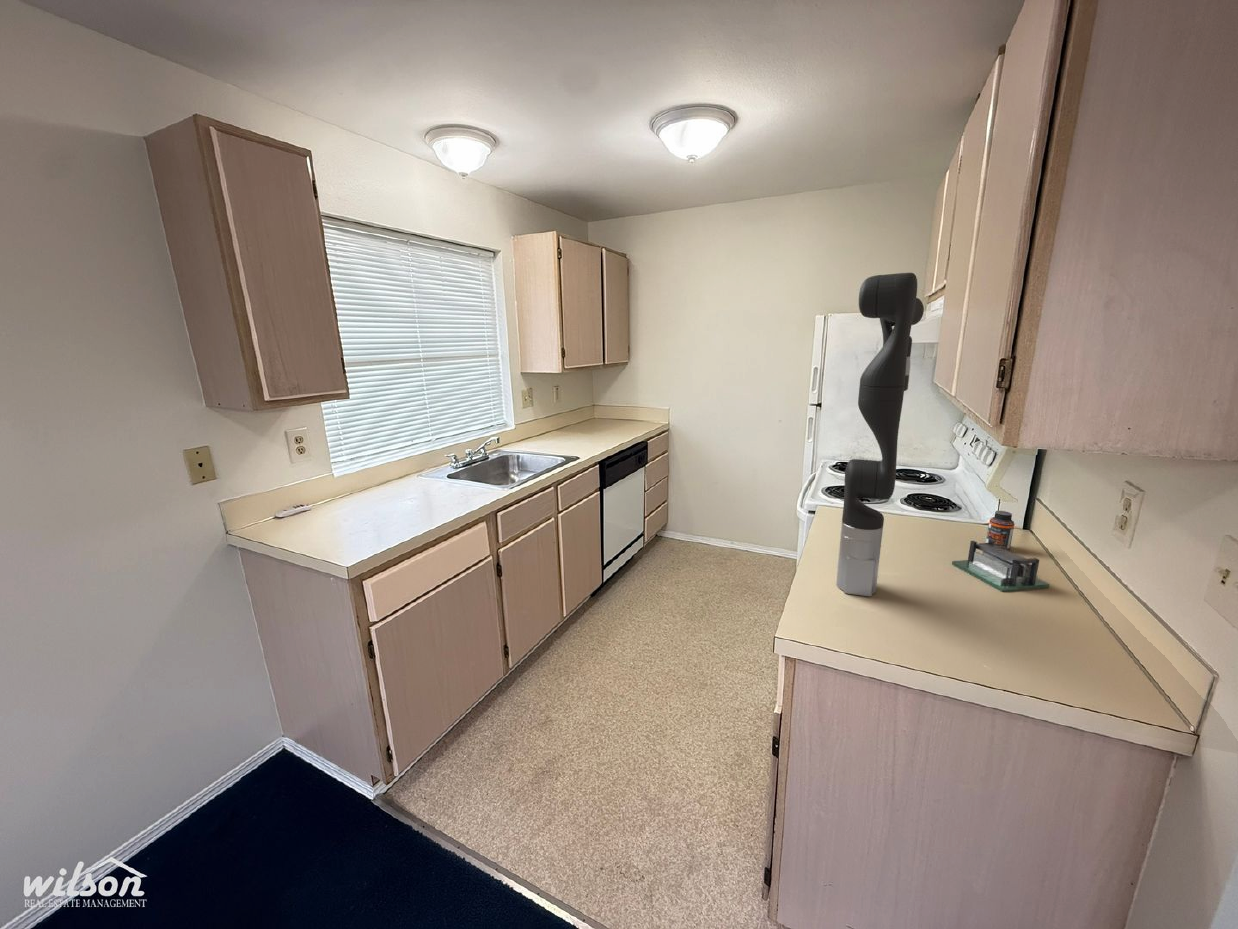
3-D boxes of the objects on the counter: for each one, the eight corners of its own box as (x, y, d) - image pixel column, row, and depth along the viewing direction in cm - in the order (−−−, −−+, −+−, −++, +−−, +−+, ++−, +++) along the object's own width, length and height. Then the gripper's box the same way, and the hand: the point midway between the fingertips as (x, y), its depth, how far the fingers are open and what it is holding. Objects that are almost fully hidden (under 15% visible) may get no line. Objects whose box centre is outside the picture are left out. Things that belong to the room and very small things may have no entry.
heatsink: (951, 564, 137) (955, 539, 136) (994, 561, 139) (998, 536, 137) (1001, 591, 122) (1006, 563, 120) (1048, 587, 123) (1054, 559, 122)
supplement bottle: (983, 548, 148) (989, 512, 145) (986, 542, 152) (992, 508, 149) (1008, 553, 144) (1015, 517, 141) (1010, 547, 148) (1017, 512, 145)
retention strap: (973, 542, 135) (1015, 560, 123) (986, 542, 136) (1029, 559, 123) (973, 547, 135) (1014, 565, 123) (986, 546, 136) (1029, 564, 124)
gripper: (914, 374, 131) (906, 438, 135) (904, 372, 143) (898, 431, 147) (882, 374, 134) (876, 437, 138) (876, 372, 146) (870, 430, 150)
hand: (887, 434), depth 142 cm, fingers closed
